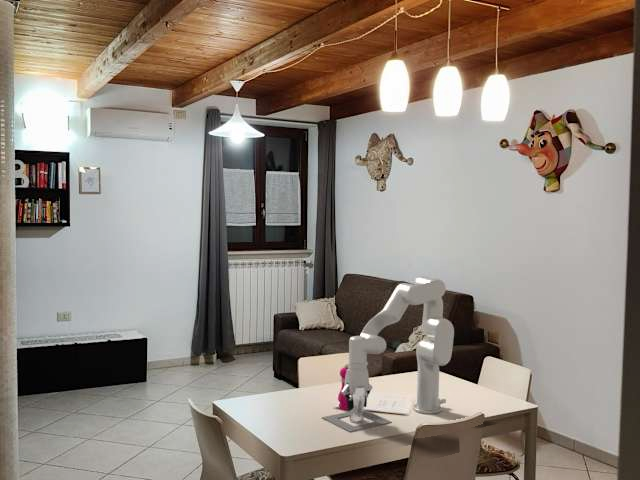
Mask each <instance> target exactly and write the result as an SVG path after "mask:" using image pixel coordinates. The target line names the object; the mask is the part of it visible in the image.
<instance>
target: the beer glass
mask: <svg viewBox="0 0 640 480" xmlns="http://www.w3.org/2000/svg"><path fill="white" fill-rule="evenodd" d="M349 397H350V394H349ZM352 400H353V409H352V410H350V411H349V412H350V416H349V422H351V423H355V424H361V423H363V422H364V416H363V409H364V408H365V407H364V403H365V386H364V387H361V388H356V391H355V393H354V394H353V397H352Z"/></svg>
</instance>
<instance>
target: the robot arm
mask: <svg viewBox="0 0 640 480" xmlns="http://www.w3.org/2000/svg"><path fill="white" fill-rule="evenodd" d="M446 289H447V287H446V284H445V282H444V281H443V280H441V279H439V278H435V277H432V276H431V277H430V276H425V275H424V276H423V275H422V276H421V275H420V276H417V277H416V278H415V279H414V281H413V284H412V283H406V282H405V283H404V282H402V283H399V284H398V285H397V286H396V287H395V289H394V290H393V292H392V293H391V295H390V297H389V299H388V300H387V302H386V304H385V305H384V307H383V308H382V309H381V310H380V312H378V313H377V314H376V315H375V316H373V317H372V318H371V319H369V320H368V322H367V323H366V324H365V326H364V327H363V329H362V331H361V332H360V335H354V336H351V337H350V338H349V340H348V365H349V369H347V371H346V376H345V386H344V389H343V390H342V391H341V390H340V391H341V393H342V394H343V395H344V397H345V398H346V399H347V408H348V409H350V410H352V409H353V400H352V397H353V394H354V393H355V391H356V388H361V387H364V386H365V403H364V408H366V407H367V403H368V402H367V400H368V398H369V394H370V393H371V391H372V390H373V385H372V384H370V379H369V377H370V375H369V371H368V368H367V366H368V365H369V362H368V361H367V357H368V355H369V354H371V355H372V354H373V355H379V354H381V353H384V352H385V350H386V348H387V342H386V340H385V339H384V338H383V337H382V336H379V335H378V334H379V333H380V332H381V331H382V330H383V329H384V328H385V327H387V326H390V325H392V324H396V323H398V322H400V320H401V318H402V316H403V315H404V313H405V312H406V311H407V308H408V307H409V305H411V306H417V305H423V311H422V313H423V314H422V320H421V321H422V323H421V331H422V334H423V335H425V336H427V337H429V338H431V339H429V338H426V339H422V340H420V341H419V342H418V343H417V345H416V348H415V349H416V350H415V351H416V352H415V353H416V360H417V388H416V389H417V392H416V393H417V394H416V403H415V404H414V405H413V406H412V407H413V410H414V411H415V412H418V413H421V414H428V415H433V414H440V413H441V412H442V411H443V408H442V406H441V405H442V404H446V403H447V400H446V398H441V399H440V397H439V395H440V394H439V392H440V366H441V367H442V366H446V365H447V364H448V363H449V362H450V361H451V358H452V353H453V348H454V347H453V346H454V339H455V338H454V337H455V328H454V325H453V324H452V322H451V321H450V320H448V319H447V318H444V317H443V313H444V301H443V298H442V297H443V296H444V295H445V293H446ZM346 392H348V393H346ZM349 394H350V397H349Z"/></svg>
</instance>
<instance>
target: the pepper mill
mask: <svg viewBox="0 0 640 480" xmlns="http://www.w3.org/2000/svg"><path fill="white" fill-rule="evenodd" d="M347 369H349V363H348V364H347V363H345V364H344V367H342V368H341V369H340V370H339V376H340V382H341V388H340V391H339V393H338V396H337V401H338V402H339V403H338V409H340V410H342V411H343V410H344V411H349V410H350V409H348V408H347V399H346V398H345V397H344V395H343V394H342V393H341V391H342V390H343V389H344V386H345V376H346V371H347ZM346 393H348V392H346Z"/></svg>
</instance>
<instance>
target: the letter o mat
mask: <svg viewBox="0 0 640 480" xmlns="http://www.w3.org/2000/svg"><path fill="white" fill-rule="evenodd" d="M348 417H350V411H346V412H341V413H337V414H332V415H325V416H322V417H321V419H322V420H324V421H327V422H328V423H330V424H333V425H334V426H336V427H338V428H341V429H342V430H344V431H346V432H348V433H354V432H358V431H362V430H366V429H370V428H374V427H375V428H376V427H379V426H384V425H387V424H389V425H390V424H392V423H393V422H392V421H391V420H389V419H388V418H387V419H386V418H384V417H382V416H379V415H377V414H375V413H373V412H371V411H368V410H367V409H364V408H363V418H364V417H365V418H367V419H370V420H371V422H367V423H366V422H365V423H364V424H363V423H362V424H358V425H352V424H349V423H348V422H346V421H344V420H342V419H343V418H348Z"/></svg>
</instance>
